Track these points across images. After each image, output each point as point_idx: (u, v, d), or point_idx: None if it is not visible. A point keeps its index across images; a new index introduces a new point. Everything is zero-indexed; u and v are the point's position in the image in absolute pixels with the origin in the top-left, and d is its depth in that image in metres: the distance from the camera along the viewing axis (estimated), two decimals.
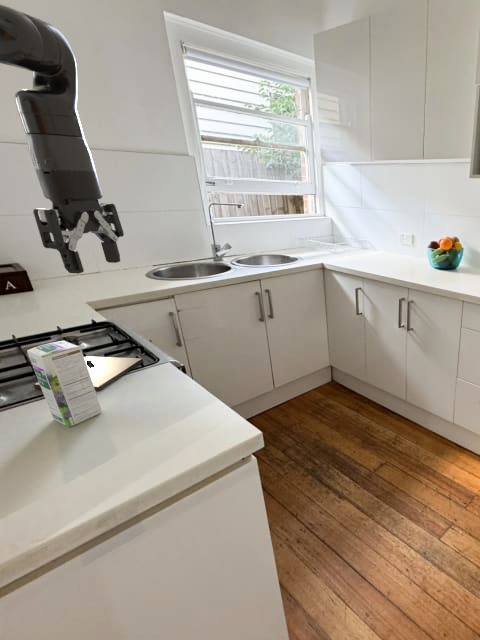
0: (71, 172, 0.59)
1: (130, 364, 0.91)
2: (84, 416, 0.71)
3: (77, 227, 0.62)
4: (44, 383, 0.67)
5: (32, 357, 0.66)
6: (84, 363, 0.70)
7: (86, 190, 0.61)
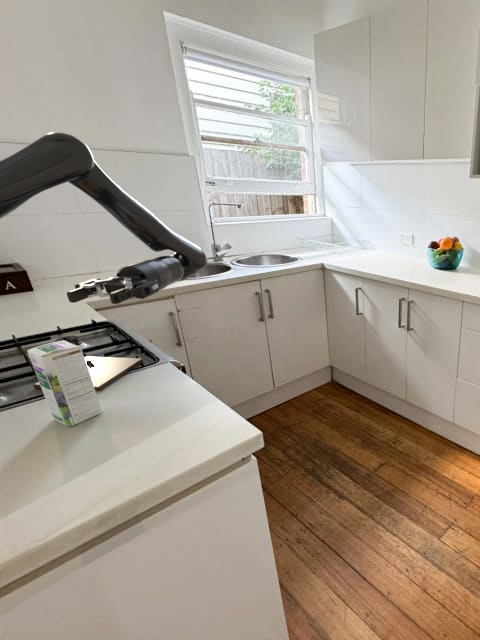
0: None
1: (130, 364, 0.91)
2: (84, 416, 0.71)
3: None
4: (45, 382, 0.67)
5: (32, 357, 0.66)
6: (84, 363, 0.70)
7: None
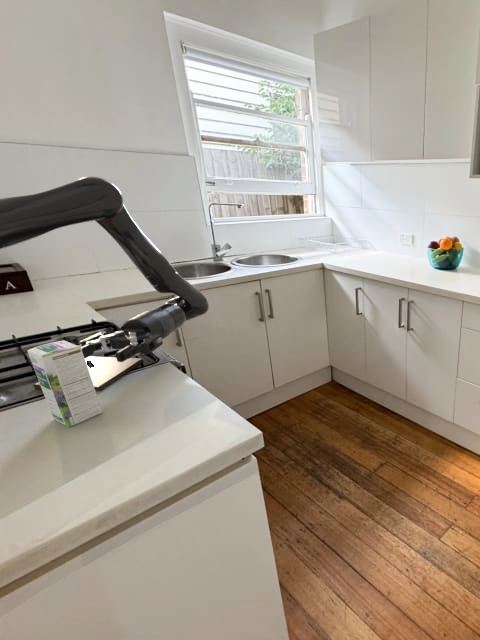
0: None
1: (130, 364, 0.91)
2: (84, 416, 0.71)
3: None
4: (45, 382, 0.67)
5: (32, 357, 0.66)
6: (84, 363, 0.70)
7: None
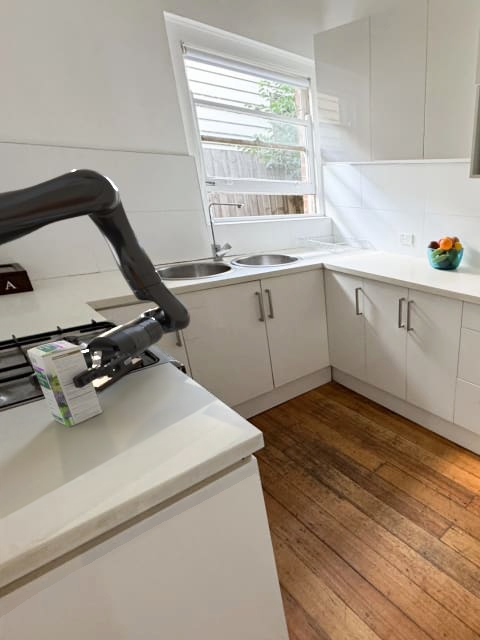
0: (133, 358, 0.83)
1: None
2: (84, 416, 0.71)
3: None
4: (44, 383, 0.67)
5: (32, 357, 0.66)
6: (84, 363, 0.70)
7: None
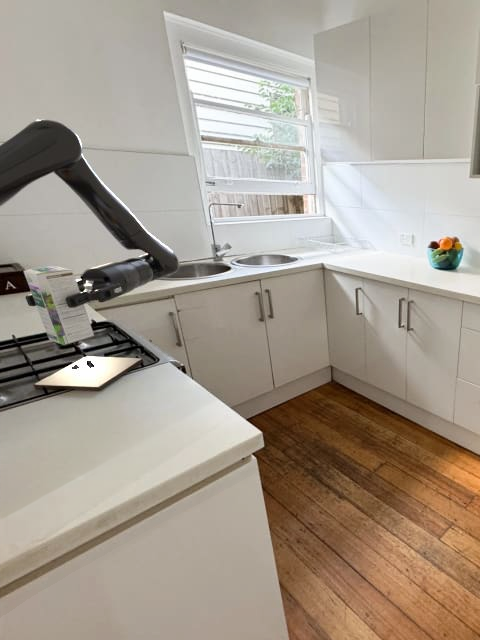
0: (124, 293, 0.89)
1: (130, 364, 0.91)
2: (77, 336, 0.77)
3: None
4: (40, 301, 0.73)
5: (28, 277, 0.72)
6: (76, 286, 0.76)
7: None
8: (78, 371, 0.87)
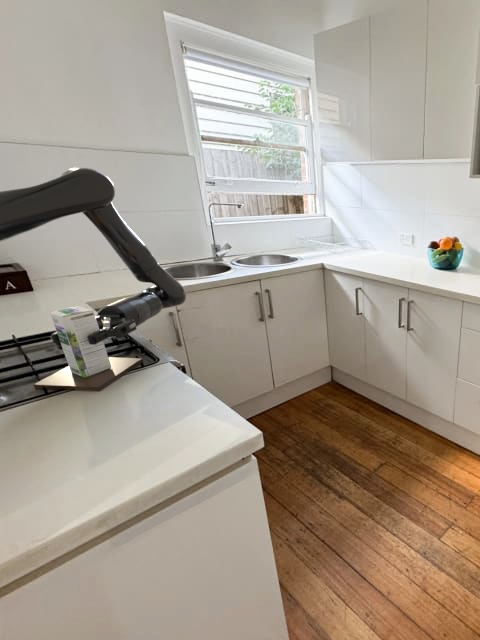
0: (136, 325, 0.98)
1: (130, 364, 0.91)
2: (97, 369, 0.86)
3: None
4: (64, 339, 0.81)
5: (54, 318, 0.80)
6: (96, 324, 0.84)
7: None
8: None
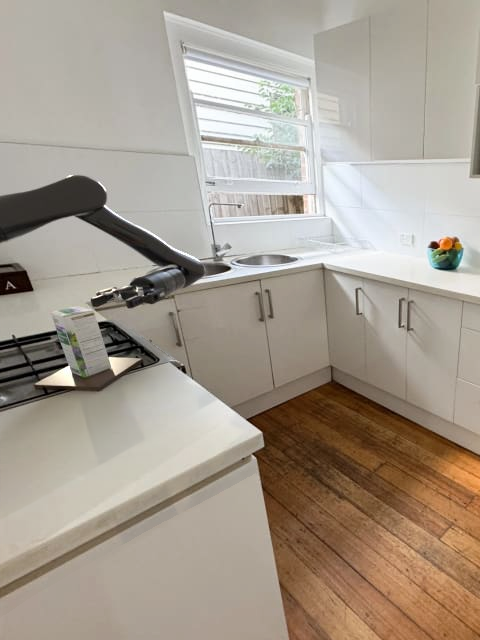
0: None
1: (130, 364, 0.91)
2: (97, 369, 0.86)
3: None
4: (65, 339, 0.81)
5: (55, 318, 0.80)
6: (97, 324, 0.84)
7: None
8: None
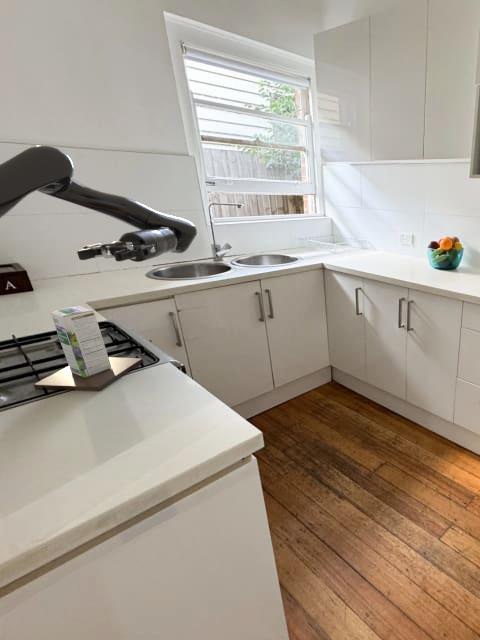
0: (154, 256, 1.03)
1: (130, 364, 0.91)
2: (97, 369, 0.86)
3: None
4: (65, 339, 0.81)
5: (55, 318, 0.80)
6: (97, 324, 0.84)
7: None
8: None
